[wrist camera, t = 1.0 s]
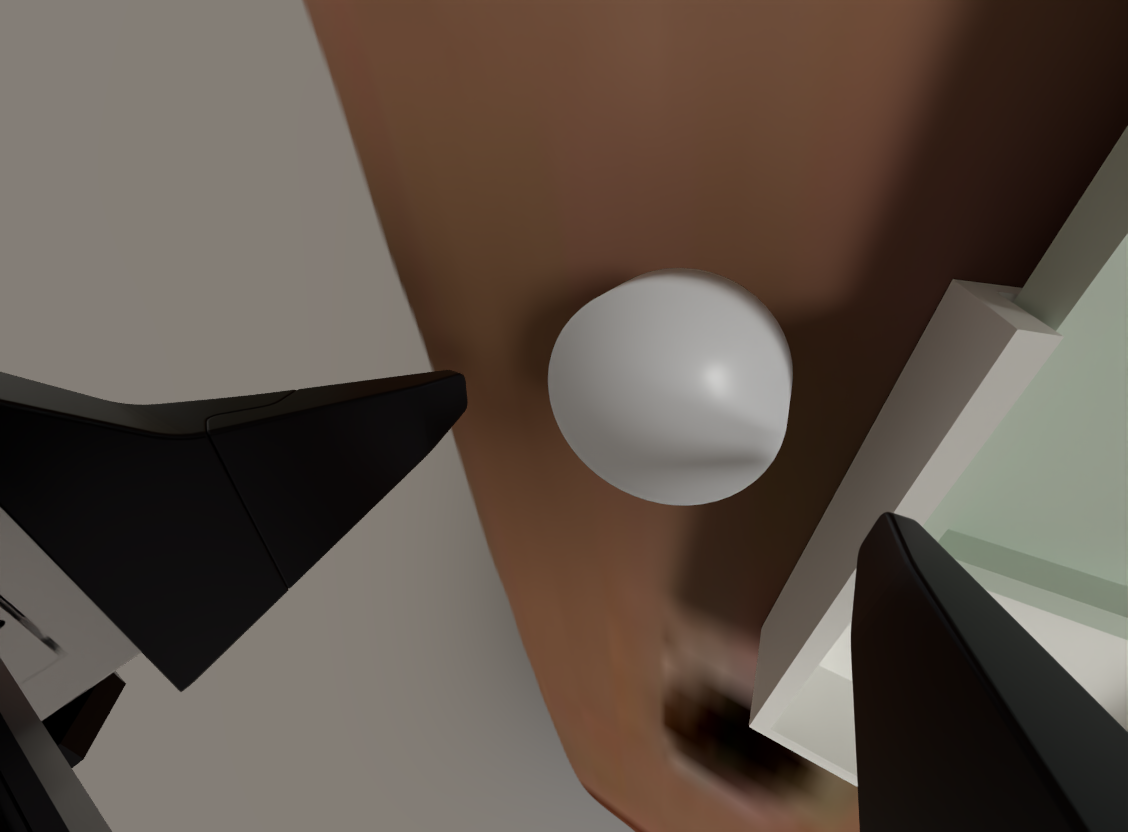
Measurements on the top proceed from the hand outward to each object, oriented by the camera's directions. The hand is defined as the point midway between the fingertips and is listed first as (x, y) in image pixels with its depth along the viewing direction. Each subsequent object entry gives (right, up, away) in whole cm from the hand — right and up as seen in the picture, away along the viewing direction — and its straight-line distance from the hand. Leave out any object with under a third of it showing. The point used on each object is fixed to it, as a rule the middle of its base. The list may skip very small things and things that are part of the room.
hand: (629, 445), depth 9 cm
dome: (+2, +2, +3) cm, 4 cm away
